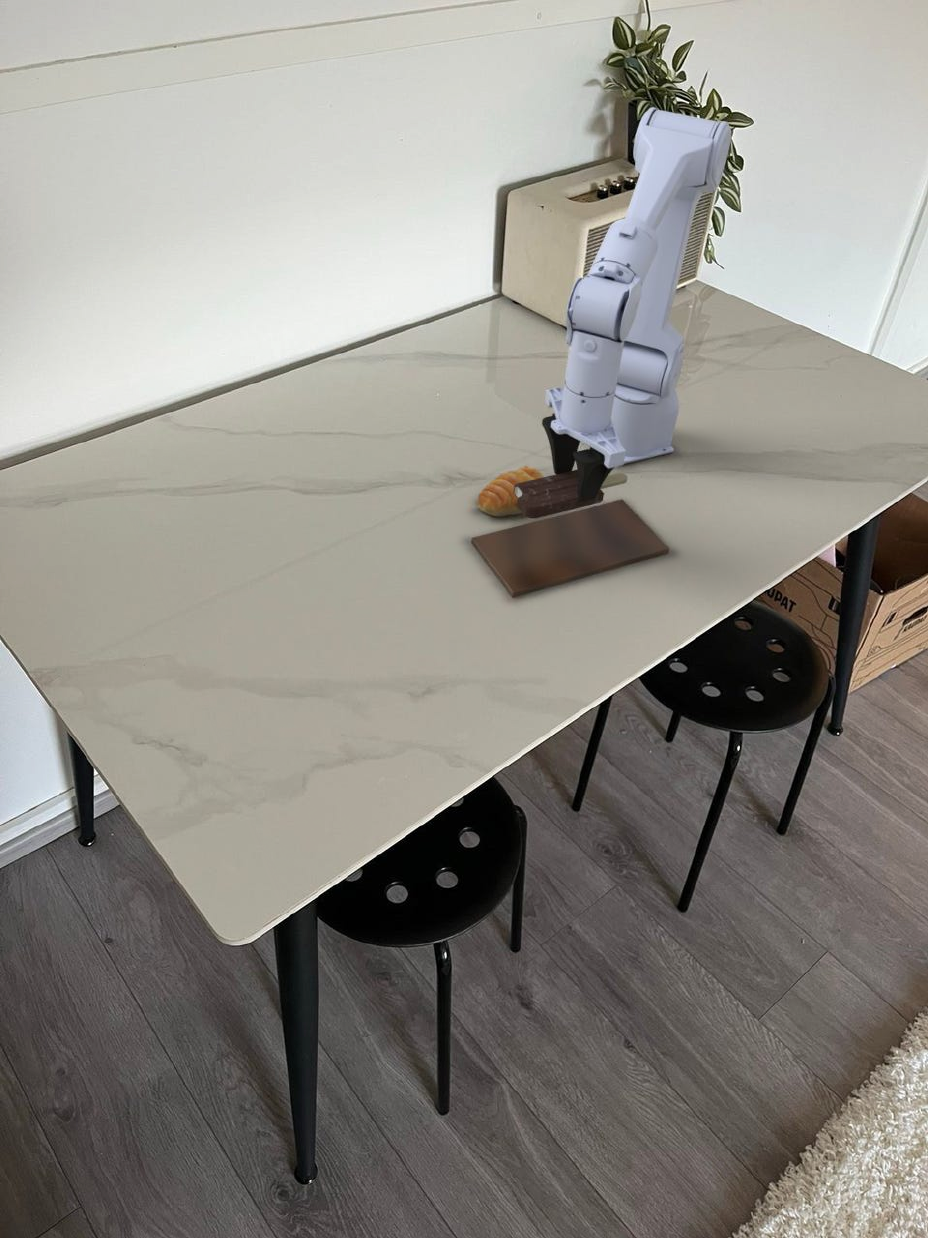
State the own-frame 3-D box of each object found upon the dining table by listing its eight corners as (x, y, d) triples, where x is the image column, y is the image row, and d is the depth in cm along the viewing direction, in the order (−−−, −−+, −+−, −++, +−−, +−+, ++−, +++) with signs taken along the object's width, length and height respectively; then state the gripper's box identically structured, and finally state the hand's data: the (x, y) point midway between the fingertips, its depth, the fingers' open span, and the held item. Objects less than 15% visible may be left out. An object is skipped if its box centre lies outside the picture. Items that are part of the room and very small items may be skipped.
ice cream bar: (614, 470, 129) (507, 496, 123) (616, 459, 128) (508, 484, 122) (636, 494, 125) (527, 521, 120) (639, 483, 124) (528, 509, 119)
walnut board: (621, 503, 135) (622, 498, 135) (668, 553, 128) (669, 548, 128) (470, 542, 128) (471, 537, 127) (512, 597, 121) (512, 592, 120)
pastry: (498, 528, 130) (500, 503, 127) (464, 502, 134) (466, 477, 131) (553, 503, 135) (556, 479, 132) (519, 479, 138) (522, 454, 136)
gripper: (527, 359, 118) (516, 459, 127) (592, 424, 108) (576, 527, 117) (580, 349, 120) (566, 448, 129) (649, 412, 111) (628, 513, 120)
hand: (574, 485), depth 123 cm, fingers closed on ice cream bar, 5 cm apart
